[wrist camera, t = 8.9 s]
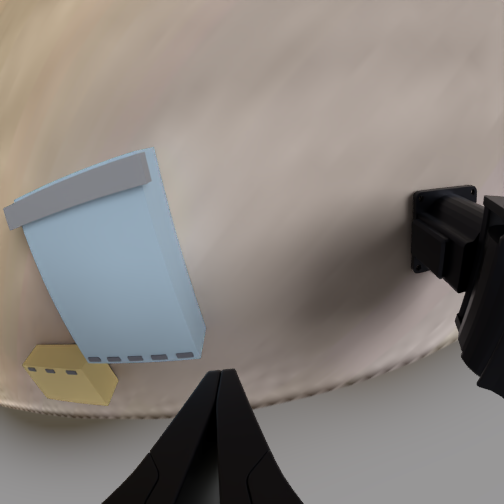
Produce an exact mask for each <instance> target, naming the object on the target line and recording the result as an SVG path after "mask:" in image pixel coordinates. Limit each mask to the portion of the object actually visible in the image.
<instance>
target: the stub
mask: <svg viewBox="0 0 504 504" xmlns="http://www.w3.org/2000/svg"><path fill="white" fill-rule="evenodd" d="M22 366H23V367H24V368H25V370H26V371H27V373H28V374H29V375H30V377H31V378H32V379H33V381H34V382H35V383H36V385H37V386H38V387H39V388H40V390H41V391H42V392H43V393H44V395H45V396H46V397H47V398H49V399H55V400H61V401H68V402H76V403H84V404H93V405H104V406H108V405H109V403H110V400H111V398H112V395H113V393H114V390H115V388H116V385H117V383H118V379H117V377H116V376H115V374H114V373H113V371H112V370H111V368H110V366H109V365H108V363H88V362H87V360H86V359H85V357H84V355H83V354H82V352H81V351H80V349H79V347H78V346H77V344H73V345H36V347H35V348H34V349H33V351H32V352H31V354H30V355H29V356H28V358H27V359H26V361H25V362H24V363H23V365H22Z"/></svg>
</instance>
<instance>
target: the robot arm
mask: <svg viewBox="0 0 504 504" xmlns="http://www.w3.org/2000/svg"><path fill="white" fill-rule="evenodd" d="M471 190H472V193H471ZM420 196H421V200H420V201H419V197H420ZM476 200H477V189H476V187H475V186H472V185H465V186H456V187H447V188H438V189H429V190H421V191H417V192H416V193H415V194H414V197H413V222H412V243H411V253H412V263H411V269H412V270H413V271H414V272H415V273H421V272H425V271H429V270H430V271H431V272H432V273H434V274H435V275H436V276H437V277H438V278H439V279H442V278H443V279H444V280H445V281H446V282H447V283H448V284H449V285H450V286H451V287H452V288H453V289H454V290H455V291H456V292H457V293H462V292H465V296H464V299H463V302H462V305H461V308H460V311H459V313H458V314H457V316H456V319H455V323H456V326H457V329H458V332H459V336H458V340H459V343H460V346H461V350H462V354H461V358H462V359H463V361H464V362H465V364H466V365H467V366H468V368H470V369H471V370H472V371H473V372H474V373H475V374H476V375H478V376H479V377H480V378H479V380H478V381H477V386H479V387H481V388H485V389H488V390H491V391H493V392H495V393H496V394H498V395H500V396H502V397H503V398H504V197H501V196H487V195H484V201H483V205H484V207H483V206H481V205H479V204H477V203H476ZM418 265H419V266H418ZM417 266H418V267H417ZM416 267H417V268H416ZM102 504H303V502H302V501H301V500H300V498H299V497H298V496H297V494H296V493H295V492H294V491H293V489H292V488H291V486H290V485H289V483H288V482H287V480H286V479H285V477H284V476H283V474H282V472H281V470H280V468H279V466H278V465H277V463H276V461H275V459H274V457H273V454H272V452H271V451H270V448H269V446H268V444H267V442H266V440H265V437H264V435H263V433H262V431H261V429H260V426H259V424H258V422H257V420H256V417H255V415H254V413H253V410H252V408H251V406H250V403H249V401H248V399H247V396H246V394H245V392H244V389H243V387H242V384H241V382H240V380H239V377H238V375H237V372H236V370H235V369H225V370H222V371H221V370H215V371H209V372H207V374H206V375H205V376H204V378H203V379H202V381H201V382H200V383H199V385H198V386H197V388H196V389H195V390H194V392H193V393H192V395H191V396H190V397H189V399H188V400H187V401H186V403H185V404H184V406H183V407H182V408H181V410H180V411H179V412H178V414H177V415H176V417H175V418H174V419H173V421H172V422H171V423H170V425H169V426H168V427H167V429H166V430H165V432H164V433H163V434H162V436H161V437H160V438H159V440H158V441H157V442H156V444H155V445H154V446H153V448H152V449H151V450H150V453H148V454H147V455H146V457H145V458H144V459H143V460H142V462H141V463H140V464H139V465H138V467H137V468H136V469H135V470H134V472H133V473H132V474H131V475H130V476H129V477H128V478H127V479H126V480H125V481H124V482H123V483H122V484H121V486H119V488H117V489H116V490H115V491H114V492H113V493H112V494H111V495H110V496H109V497H108V498H107V499H106V500H105V501H104V502H103V503H102Z"/></svg>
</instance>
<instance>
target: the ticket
mask: <svg viewBox="0 0 504 504" xmlns="http://www.w3.org/2000/svg"><path fill="white" fill-rule="evenodd" d="M14 202H15V203H13V204H11V205H9V206H7V207H5V208H3V210H4V213H5V217H6V220H7V223H8V226H9V229H10V230H13V229H15V228H18V227H20V226H22V228H23V230H24V233H25V236H26V239H27V242H28V244H29V247H30V250H31V252H32V255H33V257H34V260H35V262H36V265H37V267H38V269H39V272H40V274H41V276H42V279H43V281H44V283H45V285H46V287H47V290H48V292H49V294H50V296H51V298H52V300H53V302H54V304H55V306H56V308H57V310H58V312H59V314H60V316H61V318H62V319H63V321H64V323H65V325H66V327H67V329H68V330H69V332H70V334H71V336H72V337H73V339H74V341H75V342H76V344H77V346H78V347H79V349H80V351H81V352H82V354H83V355H84V357H85V359H86V360H87V362H88V363H142V362H162V361H176V360H189V359H200V358H201V354H202V348H203V342H204V337H205V331H206V326H205V323H204V321H203V318H202V315H201V312H200V309H199V306H198V303H197V300H196V297H195V294H194V291H193V288H192V284H191V281H190V278H189V275H188V272H187V269H186V265H185V262H184V259H183V255H182V252H181V249H180V245H179V242H178V239H177V235H176V232H175V228H174V224H173V221H172V217H171V214H170V210H169V206H168V202H167V199H166V195H165V191H164V187H163V183H162V179H161V175H160V171H159V167H158V163H157V158H156V154H155V150H154V147H151V148H147V149H142V150H137V151H133V152H130V153H127V154H124V155H121V156H118V157H115V158H112V159H109V160H106V161H104V162H101V163H98V164H95V165H93V166H90V167H88V168H85V169H82V170H80V171H77V172H75V173H72V174H70V175H67V176H65V177H63V178H60V179H58V180H56V181H53V182H51V183H49V184H47V185H44V186H42V187H40V188H38V189H36V190H34V191H32V192H29V193H27V194H25V195H23V196H21V197H19V198H17V199H15V200H14Z"/></svg>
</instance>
